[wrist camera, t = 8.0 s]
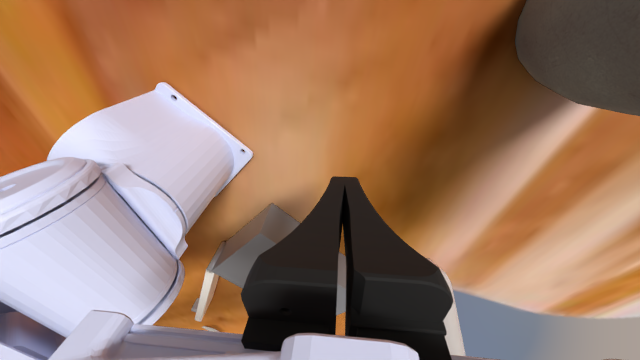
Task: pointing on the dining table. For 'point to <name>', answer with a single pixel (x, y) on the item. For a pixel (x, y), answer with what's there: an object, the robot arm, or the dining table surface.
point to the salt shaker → (452, 325)
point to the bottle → (584, 50)
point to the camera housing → (265, 249)
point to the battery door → (207, 287)
